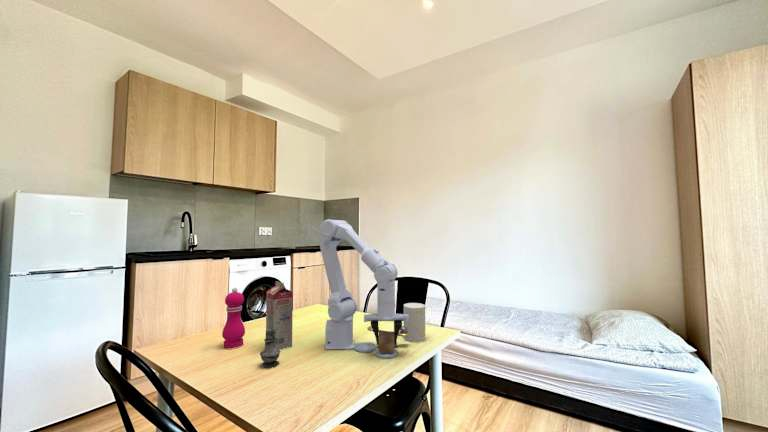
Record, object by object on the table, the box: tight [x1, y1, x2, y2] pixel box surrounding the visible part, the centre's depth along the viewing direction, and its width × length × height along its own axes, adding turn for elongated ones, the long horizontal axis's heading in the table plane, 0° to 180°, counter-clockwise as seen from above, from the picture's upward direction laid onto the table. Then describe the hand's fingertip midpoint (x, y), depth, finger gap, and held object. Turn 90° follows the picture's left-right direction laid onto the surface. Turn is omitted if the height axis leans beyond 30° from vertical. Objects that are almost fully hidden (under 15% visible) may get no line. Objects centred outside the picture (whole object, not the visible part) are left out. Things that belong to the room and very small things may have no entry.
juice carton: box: [265, 281, 294, 350], centre depth 109 cm, size 7×7×22 cm
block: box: [378, 330, 394, 353], centre depth 101 cm, size 5×5×5 cm
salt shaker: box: [259, 324, 282, 369], centre depth 93 cm, size 6×6×12 cm
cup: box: [403, 302, 426, 343], centre depth 117 cm, size 8×8×12 cm
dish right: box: [374, 347, 399, 359], centre depth 101 cm, size 8×8×1 cm
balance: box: [367, 325, 409, 349], centre depth 108 cm, size 15×4×6 cm, turn 92°
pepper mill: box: [221, 287, 246, 349], centre depth 109 cm, size 7×7×20 cm
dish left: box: [353, 341, 377, 354], centre depth 106 cm, size 8×8×1 cm
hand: (386, 343), depth 101 cm, fingers closed on block, 5 cm apart
